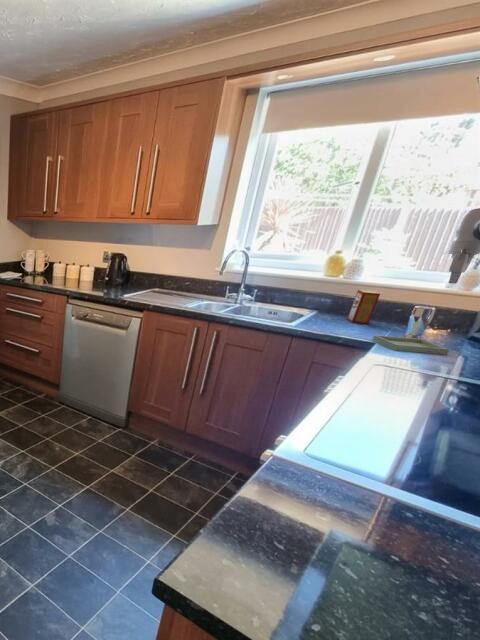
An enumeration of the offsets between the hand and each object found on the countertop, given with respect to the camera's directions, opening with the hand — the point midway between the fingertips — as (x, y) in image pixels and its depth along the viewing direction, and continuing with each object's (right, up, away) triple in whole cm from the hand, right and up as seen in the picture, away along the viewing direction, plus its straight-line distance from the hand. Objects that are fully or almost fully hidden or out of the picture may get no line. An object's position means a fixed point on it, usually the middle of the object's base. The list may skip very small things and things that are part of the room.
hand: (452, 283), depth 181 cm
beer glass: (-9, -24, +9) cm, 27 cm away
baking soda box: (-3, -10, +42) cm, 43 cm away
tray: (-21, -28, -2) cm, 35 cm away
